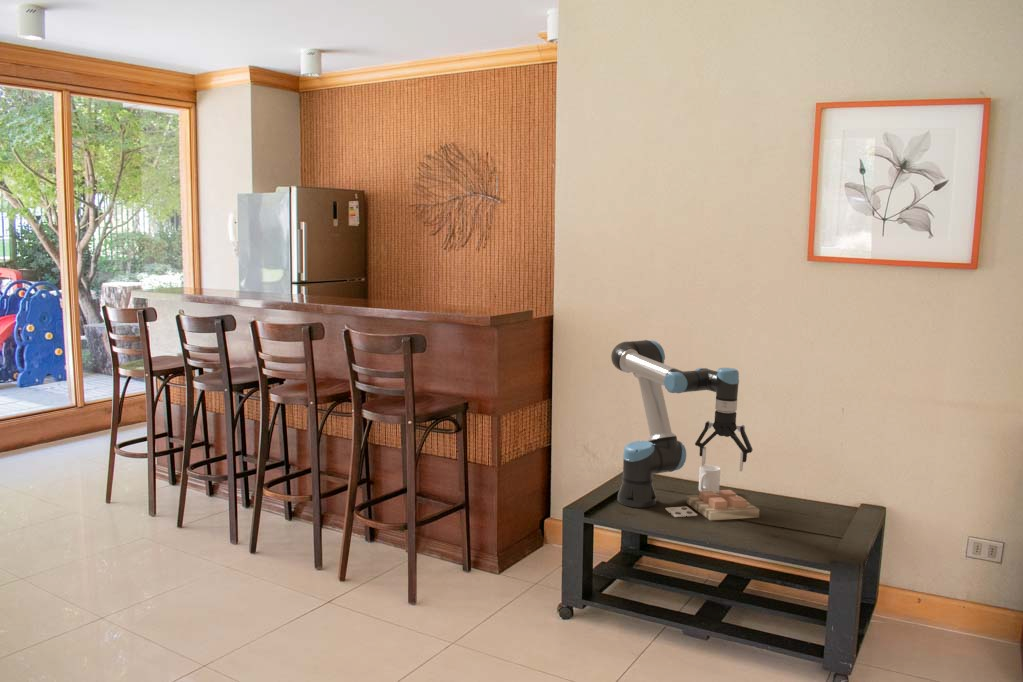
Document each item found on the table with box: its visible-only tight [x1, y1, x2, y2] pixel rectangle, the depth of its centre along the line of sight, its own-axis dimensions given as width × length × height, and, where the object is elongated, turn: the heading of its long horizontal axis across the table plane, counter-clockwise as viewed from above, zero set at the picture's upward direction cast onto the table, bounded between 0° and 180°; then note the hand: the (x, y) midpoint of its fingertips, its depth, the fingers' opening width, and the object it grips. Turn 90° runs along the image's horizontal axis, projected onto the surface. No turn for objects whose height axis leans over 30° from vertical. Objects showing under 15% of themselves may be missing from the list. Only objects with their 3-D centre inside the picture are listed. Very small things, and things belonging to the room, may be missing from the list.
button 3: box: [718, 489, 737, 501], centre depth 321 cm, size 5×5×4 cm
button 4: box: [728, 495, 748, 508], centre depth 313 cm, size 5×5×4 cm
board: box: [686, 494, 760, 521], centre depth 317 cm, size 20×20×3 cm
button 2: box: [709, 497, 727, 509], centre depth 312 cm, size 5×5×4 cm
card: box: [664, 506, 698, 518], centre depth 313 cm, size 9×9×1 cm
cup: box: [698, 464, 721, 494], centre depth 337 cm, size 8×12×10 cm
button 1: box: [698, 491, 717, 502], centre depth 319 cm, size 5×5×4 cm
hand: (722, 467), depth 301 cm, fingers open, 13 cm apart
